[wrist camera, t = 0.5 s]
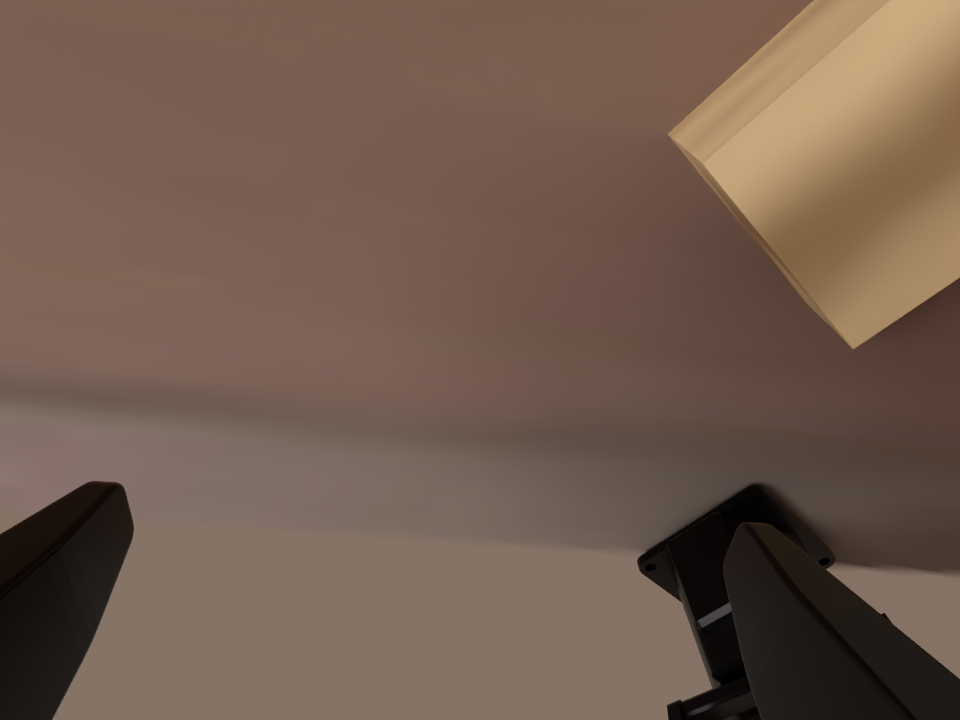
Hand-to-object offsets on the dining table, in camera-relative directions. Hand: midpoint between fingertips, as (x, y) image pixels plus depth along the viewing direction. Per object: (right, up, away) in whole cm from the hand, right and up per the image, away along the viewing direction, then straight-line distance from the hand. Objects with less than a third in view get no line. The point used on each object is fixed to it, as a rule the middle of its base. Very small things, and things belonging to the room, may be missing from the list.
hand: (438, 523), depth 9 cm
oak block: (+11, +9, +10) cm, 18 cm away
